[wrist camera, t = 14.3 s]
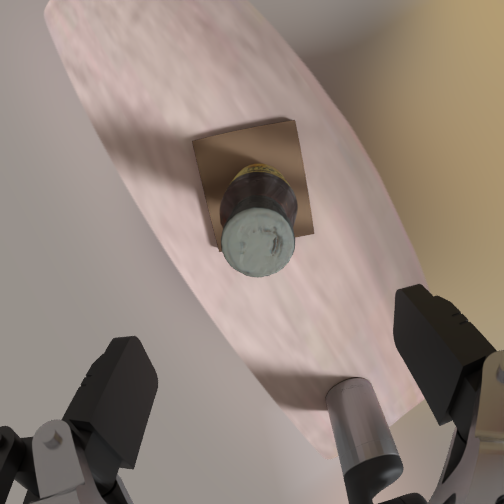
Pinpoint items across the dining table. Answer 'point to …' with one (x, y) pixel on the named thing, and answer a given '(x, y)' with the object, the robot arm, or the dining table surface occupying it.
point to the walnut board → (247, 153)
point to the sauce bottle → (258, 221)
